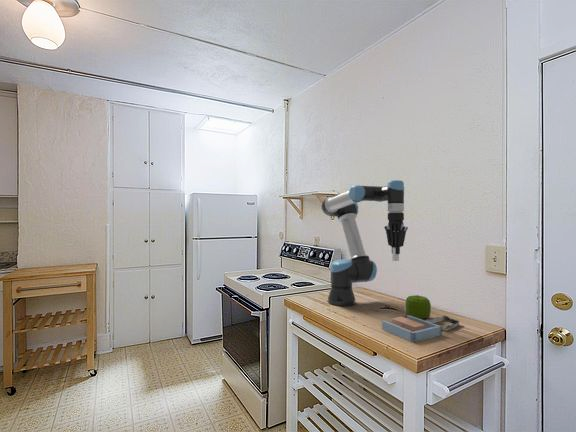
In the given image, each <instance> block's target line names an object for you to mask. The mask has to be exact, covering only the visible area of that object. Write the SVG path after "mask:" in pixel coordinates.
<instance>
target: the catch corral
mask: <svg viewBox="0 0 576 432" xmlns="http://www.w3.org/2000/svg"><path fill="white" fill-rule="evenodd" d="M406 318H407V319H410V320H413V321H416V322H418V323H421V324H424V325H425V329H422V330H418V331H414V332H412V331H410V330H407V329H405V328H402V327H400V326H397V325H395V324H392V323H391V322H389V321H387V320H381V329H382V330H384V331H386V332H389V333H390V334H393V335H395V336H397V337H399V338H401V339H404V340H406V341H409V342H410V343H417V342H421V341H423V340H424V341H425V340H429V339H431V338H435V337H436V338H437V337H440V336H442V335H443V330H442V327H443V326H441V325H438V324H436V323H430V322H427V321H426V320H425V319H419V318H416V317H413V316H410V315H407V316H406Z"/></svg>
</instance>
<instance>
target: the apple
mask: <svg viewBox="0 0 576 432" xmlns="http://www.w3.org/2000/svg"><path fill="white" fill-rule="evenodd" d="M431 309H432V305H431V302H430V300H429V299H428V298H427V296H422V295H418V294H417V295H414V294H413V295H409V296H408V297H406V299H405V312H406V315H407V316H408V315H410V316H413V317H416V318H419V319H422V320H425V319H428V318H429V317H431V312H432V311H431Z"/></svg>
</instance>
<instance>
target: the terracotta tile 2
mask: <svg viewBox="0 0 576 432" xmlns="http://www.w3.org/2000/svg"><path fill="white" fill-rule="evenodd" d="M403 328H405V329H407V330H410V331H412V332H414V331H418V330H422V329H425V325H424V324H421V323H418V322H416V321H408V322H403Z"/></svg>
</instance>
